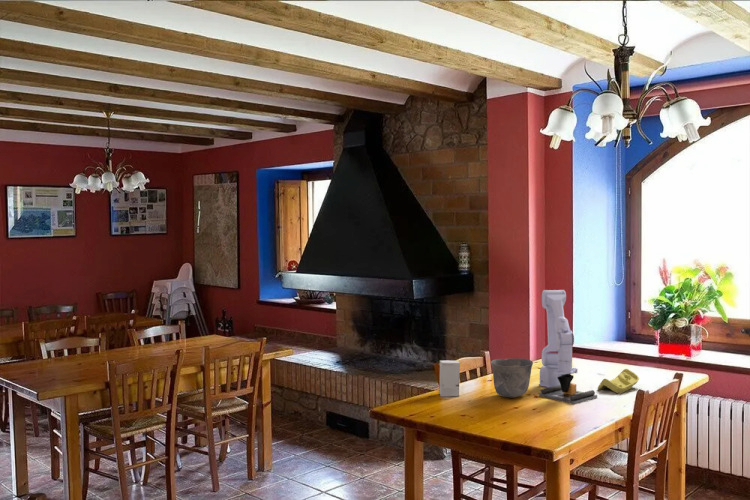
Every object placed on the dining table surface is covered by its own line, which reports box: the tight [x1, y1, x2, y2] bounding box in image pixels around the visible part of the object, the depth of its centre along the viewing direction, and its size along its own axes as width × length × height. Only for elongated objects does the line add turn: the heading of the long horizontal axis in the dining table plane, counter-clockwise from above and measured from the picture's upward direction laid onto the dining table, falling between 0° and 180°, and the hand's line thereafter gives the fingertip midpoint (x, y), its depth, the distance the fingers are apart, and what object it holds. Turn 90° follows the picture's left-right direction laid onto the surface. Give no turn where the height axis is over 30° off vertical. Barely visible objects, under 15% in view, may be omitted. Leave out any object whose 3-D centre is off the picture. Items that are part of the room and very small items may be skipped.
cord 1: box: [540, 385, 562, 394], centre depth 301 cm, size 2×15×2 cm, turn 128°
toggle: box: [563, 382, 577, 395], centre depth 297 cm, size 4×3×4 cm
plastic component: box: [597, 368, 640, 394], centre depth 310 cm, size 20×7×10 cm
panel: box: [538, 389, 598, 405], centre depth 296 cm, size 18×16×1 cm
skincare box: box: [438, 359, 461, 398], centre depth 301 cm, size 8×6×15 cm
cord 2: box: [570, 389, 596, 400], centre depth 290 cm, size 2×15×2 cm, turn 128°
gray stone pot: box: [490, 357, 534, 399], centre depth 298 cm, size 18×18×15 cm
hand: (565, 392), depth 295 cm, fingers closed
